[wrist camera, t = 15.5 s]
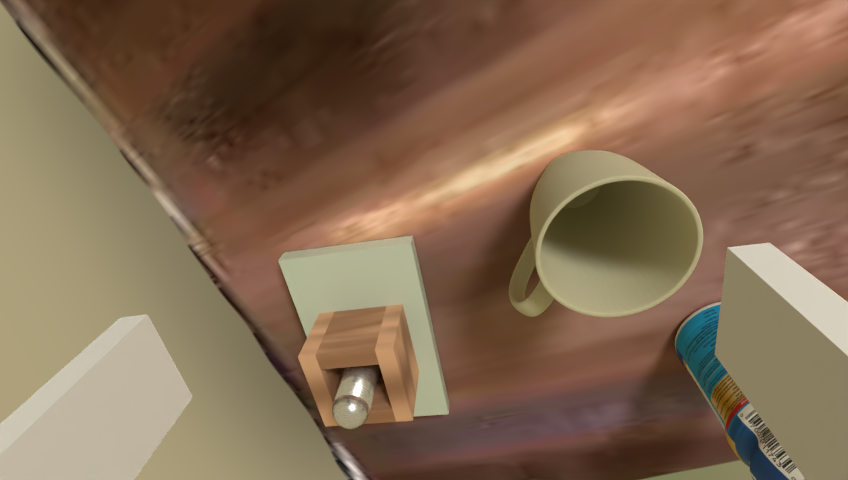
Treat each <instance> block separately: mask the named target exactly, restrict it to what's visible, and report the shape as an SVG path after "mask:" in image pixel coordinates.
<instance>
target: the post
mask: <svg viewBox="0 0 848 480" xmlns="http://www.w3.org/2000/svg"><path fill="white" fill-rule="evenodd" d="M379 372H380V366H379V364H378V365H367V366H356V367H345V370H344V373H343V376H342V379H341V382H340V385H339V388H338V391H337V394H336V397H335V400H334V403H333V406H332V414H333V417H334V419H335V421H336V423H337V424H338V425H340V426H341V427H343V428H346V429H355V428H358V427H360V426H361V425H362V424H363V423H365V421H366V420H367V418H368V416H369V413H370V409H371V405H372V401H373V397H374V392H375V388H376V384H377V380H378V376H379Z"/></svg>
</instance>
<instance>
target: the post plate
mask: <svg viewBox="0 0 848 480" xmlns="http://www.w3.org/2000/svg"><path fill="white" fill-rule="evenodd" d="M278 261H279V264H280V267H281V269H282V272H283V275H284V277H285V280H286V283H287V286H288V288H289V291H290V294H291V296H292V299H293V302H294V304H295V307H296V310H297V312H298V315H299V318H300V320H301V323H302V326H303V329H304V331H305V334H306V337H308V335H309V333H310V331H311V329H312V327H313V325H314V323H315V321H316V319H317V317H318V315H319V313H327V312H336V311H345V310H354V309H364V308H373V307H382V306H391V305H400V304H403V308H404V312H405V316H406V320H407V324H408V328H409V332H410V336H411V340H412V344H413V348H414V352H415V356H416V360H417V364H418V368H419V378H418V386H417V393H416V401H415V409H414V416H429V415H443V414H449V400H448V395H447V391H446V386H445V381H444V377H443V372H442V368H441V363H440V358H439V354H438V349H437V345H436V340H435V335H434V331H433V326H432V322H431V317H430V312H429V308H428V303H427V299H426V294H425V290H424V285H423V280H422V276H421V271H420V267H419V262H418V257H417V253H416V248H415V244H414V239H413V236H405V237H397V238H390V239H382V240H375V241H367V242H360V243H352V244H344V245H337V246H329V247H322V248H314V249H307V250H299V251H291V252H284V253H283V255H282V256H281V257H280V259H279V260H278Z"/></svg>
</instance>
